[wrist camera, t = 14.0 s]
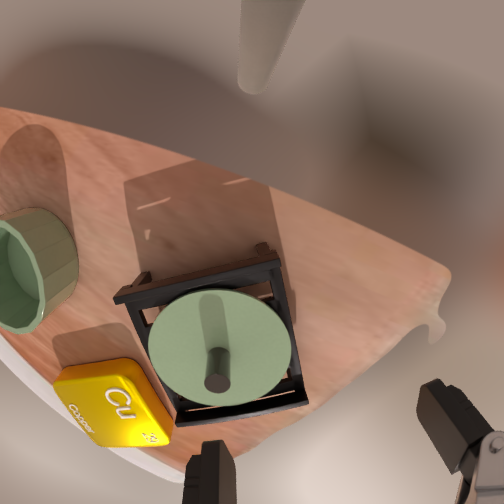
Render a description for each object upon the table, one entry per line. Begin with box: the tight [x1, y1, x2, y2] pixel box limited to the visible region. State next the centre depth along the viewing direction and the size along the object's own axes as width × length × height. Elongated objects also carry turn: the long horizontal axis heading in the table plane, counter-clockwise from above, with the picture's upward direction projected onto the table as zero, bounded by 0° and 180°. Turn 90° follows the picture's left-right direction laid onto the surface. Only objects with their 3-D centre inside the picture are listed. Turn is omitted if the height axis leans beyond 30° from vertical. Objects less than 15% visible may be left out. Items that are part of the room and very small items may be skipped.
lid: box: [148, 288, 291, 406], centre depth 28 cm, size 15×15×6 cm
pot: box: [0, 208, 79, 334], centre depth 28 cm, size 14×14×8 cm
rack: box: [113, 242, 309, 427], centre depth 32 cm, size 18×16×8 cm
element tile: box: [53, 358, 173, 448], centre depth 36 cm, size 15×15×5 cm
